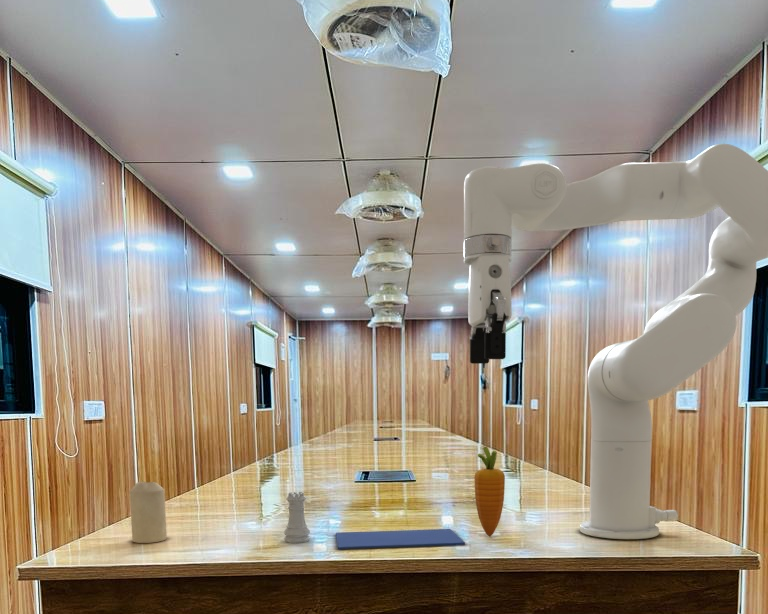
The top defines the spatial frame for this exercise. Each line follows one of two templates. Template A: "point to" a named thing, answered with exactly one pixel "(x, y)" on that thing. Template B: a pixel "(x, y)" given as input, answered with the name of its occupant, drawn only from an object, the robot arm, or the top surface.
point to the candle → (148, 512)
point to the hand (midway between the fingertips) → (486, 361)
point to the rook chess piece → (296, 520)
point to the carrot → (489, 492)
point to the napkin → (397, 539)
